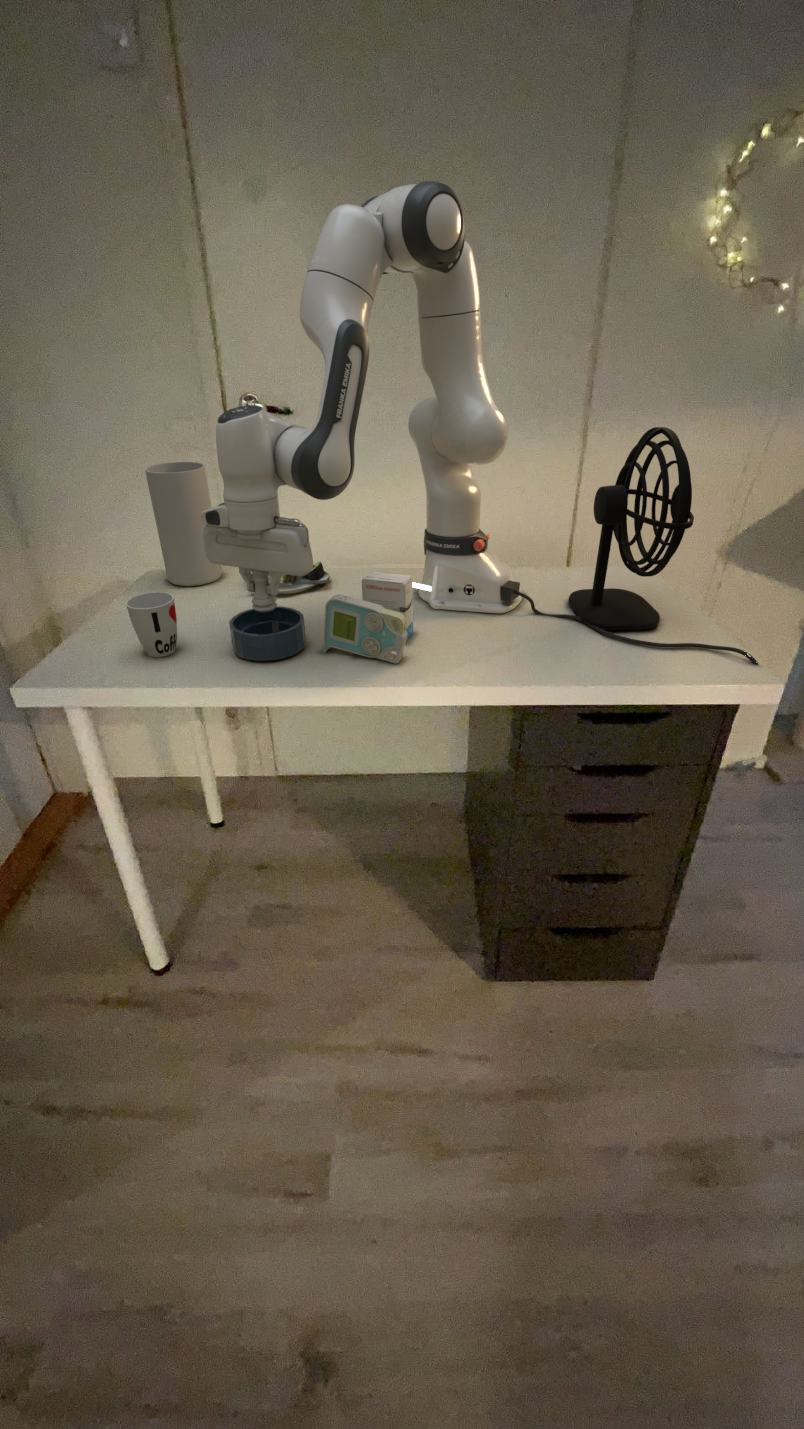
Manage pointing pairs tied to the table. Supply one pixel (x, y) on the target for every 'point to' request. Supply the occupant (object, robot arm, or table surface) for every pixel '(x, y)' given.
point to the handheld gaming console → (364, 628)
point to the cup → (154, 622)
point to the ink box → (390, 594)
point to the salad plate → (303, 581)
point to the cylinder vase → (182, 520)
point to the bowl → (268, 633)
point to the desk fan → (636, 536)
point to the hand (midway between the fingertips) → (263, 592)
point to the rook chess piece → (262, 593)
